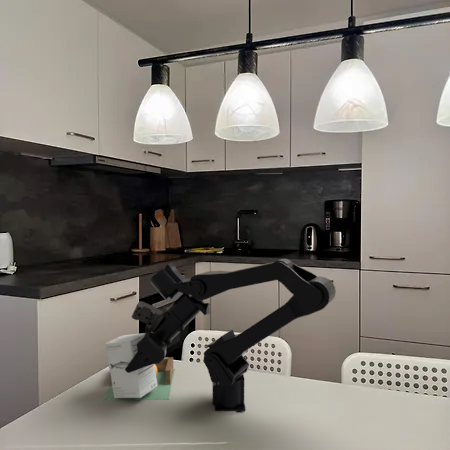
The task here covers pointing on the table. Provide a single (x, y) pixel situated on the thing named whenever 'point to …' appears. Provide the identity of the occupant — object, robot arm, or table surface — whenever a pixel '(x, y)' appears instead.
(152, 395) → the pitch mat
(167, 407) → the table surface
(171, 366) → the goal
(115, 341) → the supplement box
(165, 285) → the robot arm
